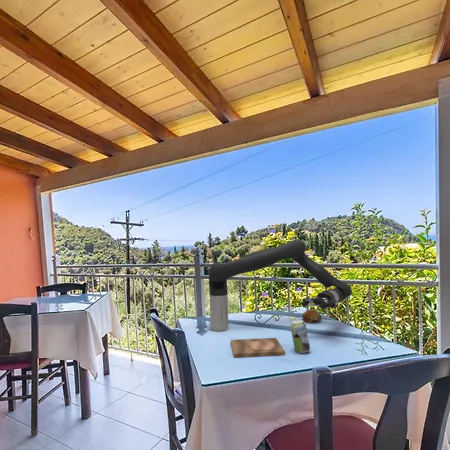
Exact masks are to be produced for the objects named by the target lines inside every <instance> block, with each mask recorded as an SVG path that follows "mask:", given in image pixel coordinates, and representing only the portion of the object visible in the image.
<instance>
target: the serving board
mask: <svg viewBox="0 0 450 450" xmlns="http://www.w3.org/2000/svg"><path fill="white" fill-rule="evenodd" d="M230 345H231V351H232V356H233V358H234V359H236V358H257V357H275V356H278V357H279V356H286V350H285V348H284V347H283V346H282V345H281V343H280V342H279V340H278V338H277V337H262V338H243V339H230Z"/></svg>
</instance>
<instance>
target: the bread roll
mask: <svg viewBox="0 0 450 450" xmlns="http://www.w3.org/2000/svg"><path fill="white" fill-rule="evenodd" d="M322 320H323V319H322V314H321V313H320V312H319V311H318V310H316V309H312V308H311V309H306V311H305V312H303V314H302V321H303V322H304V323H305V324H319V323H320V322H322Z"/></svg>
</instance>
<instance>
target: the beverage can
mask: <svg viewBox="0 0 450 450" xmlns="http://www.w3.org/2000/svg"><path fill="white" fill-rule="evenodd" d="M306 326H307V323H306V322H304V321H303V319H302V320H299V319H297V320H293V321H291V323H290V326H289V327H290V331H291V337H292V342H293V348H294V351H295V352H296V353H299V354H304V353H307V352H309V351H310V350H311V345H310V342H309V341H310V339H309V336H308V335H309V334H308V332H307V331H308V330H307V327H306Z"/></svg>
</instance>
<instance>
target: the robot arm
mask: <svg viewBox="0 0 450 450" xmlns="http://www.w3.org/2000/svg"><path fill="white" fill-rule="evenodd" d="M306 250H307V246H306V244H305V242H304V241H302V240H300V239H293V240H290V241H288V242H286V243H283V244H280V245H278V246H273V247H268V248H264V249H261V250H257V251H254V252H251V253H250V252H249V253H247V254H245V255H243V256H241V257H238V258H237V259H234V260H230V261H227V262H219V261H217V262H214V263H212V264H211V265H210V266H209V268H208V289H209V290H208V291H209V322H210V323H209V324H210V325H209V326H210V331H211V332H212V331H214V332H224V331H226V330H228V329H230V327H229V300H228V299H229V298H228V297H229V296H228V295H229V292H228V283H227V281H228V279H230V278H233V277H235V276H237V275H241V274H246V273H251V272H256V271H259V270H261V269H265V268H267V267H270V266H272V265H275V264H276V263H278V262H279V263H280V262H281V261H283V260H288V259H291V260H293V261H294V262H295V263H297V264H299V265H300V266H301V268H303V269H304V270H306V271H307V272H308V273H309V274H311V276H312V277H314V278H315V279H316V281H318V282H319V283H320V284H321V285H322V287H324V288H326V289H327V290H324V291H322V292H319V293H318V294H317V295H316V296H315V297H310V296H307V297H304V298H302V299H301V300H302V302H301V307H302V308H305V307H307V306H311V307H320V309H321V310H327V309H329V308H330V309H334V308H336V307H338V304H340V303H342V302H343V301H344V300H346V299H347V298H348V297H350V296H351V295H352V294H353V290H352V288H351V287H350V285H349V284H347V283H346V282H344V281H342V280H340V279H338V278H337V277H335V276H334V275H333V274H331V273H330V272H329V271H328V270H327V269H326V268H325V267H324V266H322V265H320V264H319V263H317V262H316V261H315V260H313V259H312V258H310V257H309V255H307V254H306ZM331 287H335V288H331ZM328 288H331V289H328Z"/></svg>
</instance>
